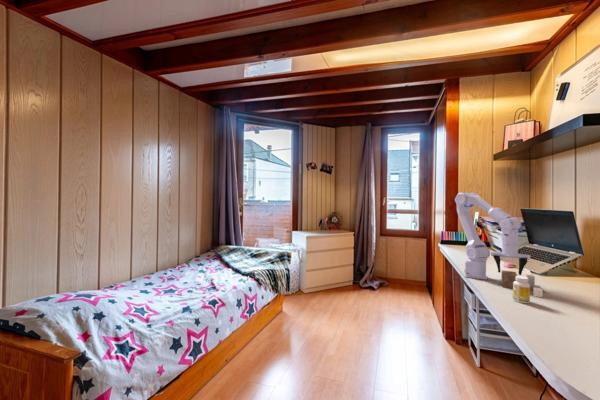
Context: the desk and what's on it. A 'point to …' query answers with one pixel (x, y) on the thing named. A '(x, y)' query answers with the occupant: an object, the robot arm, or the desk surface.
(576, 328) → the desk surface
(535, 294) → the off-white cube
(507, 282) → the brown rectangular block
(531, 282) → the post
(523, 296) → the supplement bottle
